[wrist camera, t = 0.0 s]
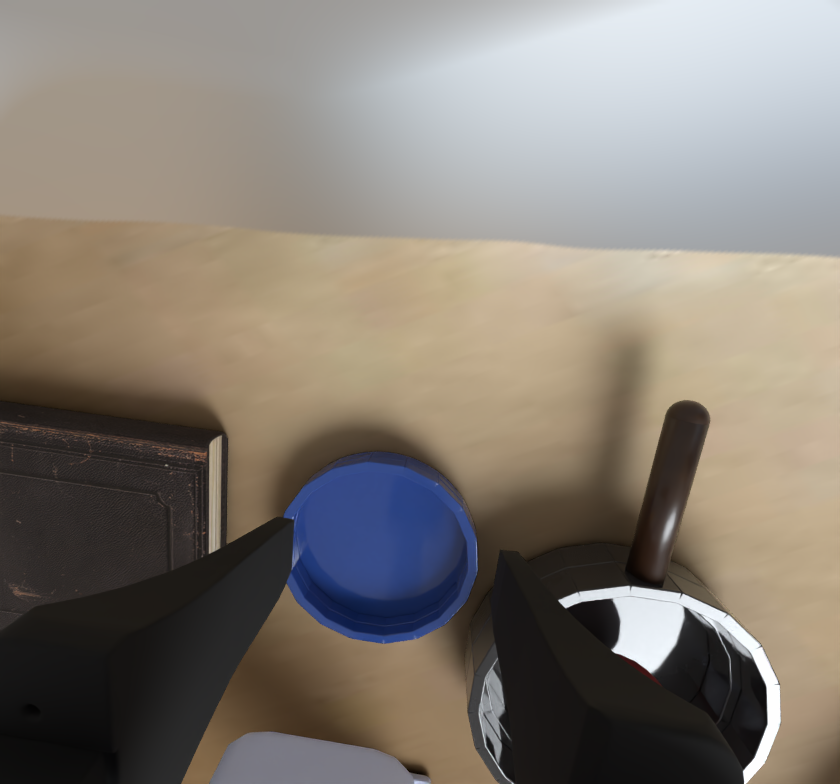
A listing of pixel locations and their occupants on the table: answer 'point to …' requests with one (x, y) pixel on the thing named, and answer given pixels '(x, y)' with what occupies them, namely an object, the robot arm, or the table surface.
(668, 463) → the pan handle
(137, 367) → the table surface
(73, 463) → the hardcover book
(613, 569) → the frying pan
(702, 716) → the robot arm
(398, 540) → the saucer
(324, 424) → the table surface
